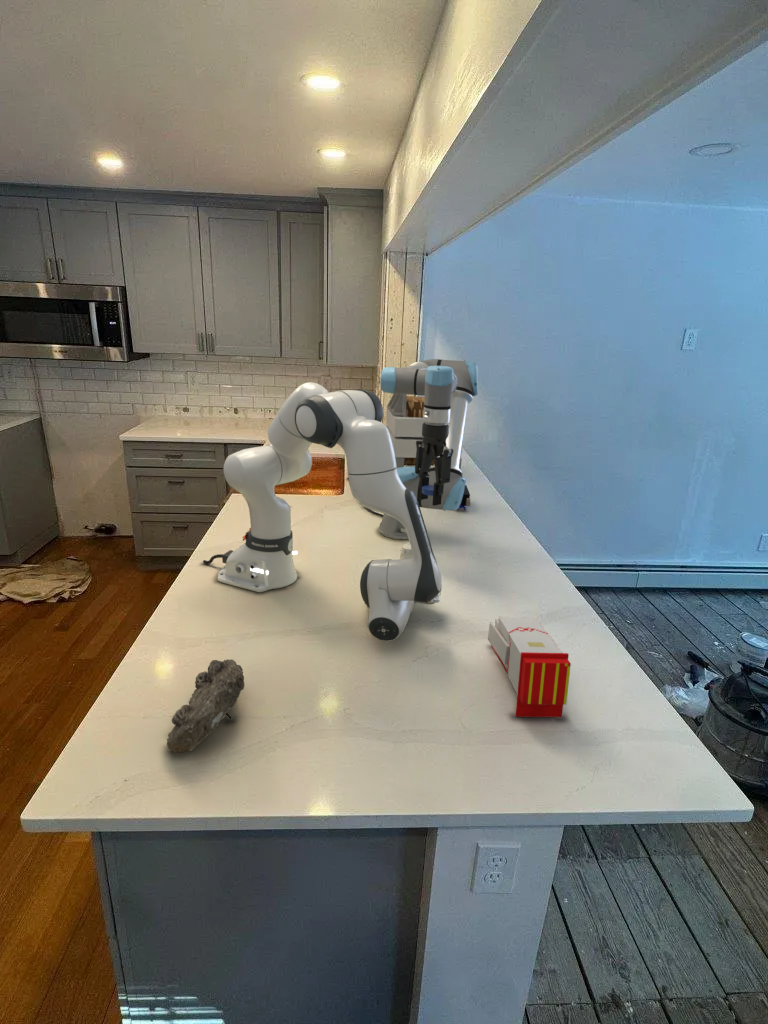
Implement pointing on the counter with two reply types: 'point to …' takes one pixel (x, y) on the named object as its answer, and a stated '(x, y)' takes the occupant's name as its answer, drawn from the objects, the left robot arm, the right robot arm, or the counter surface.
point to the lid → (428, 490)
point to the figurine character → (465, 499)
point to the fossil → (206, 705)
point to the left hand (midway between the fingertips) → (407, 574)
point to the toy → (531, 665)
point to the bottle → (406, 552)
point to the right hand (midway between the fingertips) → (430, 501)
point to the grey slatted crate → (406, 427)
